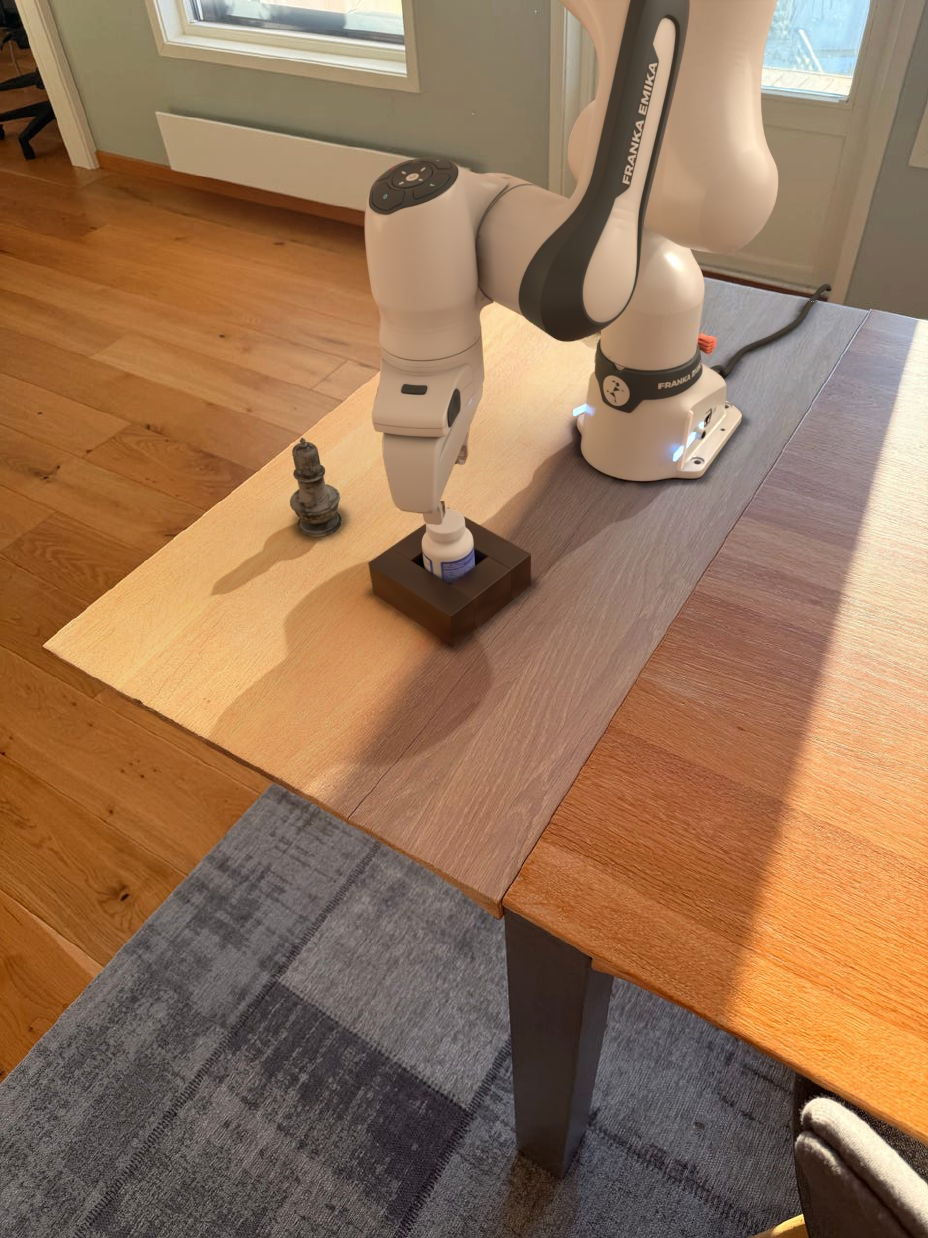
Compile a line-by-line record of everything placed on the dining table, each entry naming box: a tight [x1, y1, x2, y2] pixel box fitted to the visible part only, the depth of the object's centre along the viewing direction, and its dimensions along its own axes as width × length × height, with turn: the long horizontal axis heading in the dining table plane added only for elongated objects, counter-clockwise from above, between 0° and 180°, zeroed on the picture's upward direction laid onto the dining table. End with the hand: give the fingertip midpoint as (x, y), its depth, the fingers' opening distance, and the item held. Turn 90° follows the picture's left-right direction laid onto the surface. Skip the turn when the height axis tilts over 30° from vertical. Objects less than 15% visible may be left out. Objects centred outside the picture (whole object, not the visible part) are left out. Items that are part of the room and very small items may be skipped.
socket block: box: [367, 516, 532, 648], centre depth 97 cm, size 12×12×4 cm
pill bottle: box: [422, 507, 475, 585], centre depth 95 cm, size 5×5×10 cm
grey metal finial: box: [289, 437, 343, 538], centre depth 104 cm, size 6×6×12 cm
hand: (447, 488), depth 89 cm, fingers open, 8 cm apart
